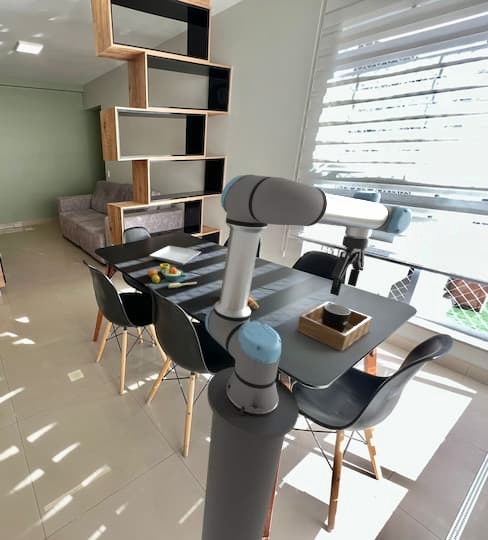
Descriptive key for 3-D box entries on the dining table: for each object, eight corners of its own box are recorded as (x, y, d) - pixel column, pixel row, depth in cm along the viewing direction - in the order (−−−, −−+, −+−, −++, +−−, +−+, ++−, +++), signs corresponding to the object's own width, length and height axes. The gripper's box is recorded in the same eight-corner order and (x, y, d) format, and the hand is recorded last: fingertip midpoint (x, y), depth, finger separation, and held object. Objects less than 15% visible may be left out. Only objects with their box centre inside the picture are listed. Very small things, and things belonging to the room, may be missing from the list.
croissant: (259, 314, 136) (265, 299, 136) (252, 313, 129) (258, 296, 128) (221, 299, 150) (226, 285, 150) (212, 297, 142) (217, 282, 142)
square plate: (148, 260, 200) (148, 254, 198) (169, 249, 221) (169, 245, 219) (182, 267, 185) (183, 262, 184) (201, 256, 206) (201, 250, 205)
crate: (341, 351, 105) (345, 336, 102) (297, 330, 118) (300, 315, 116) (367, 332, 116) (372, 317, 114) (324, 314, 129) (328, 301, 127)
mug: (341, 340, 110) (347, 317, 106) (316, 331, 116) (321, 309, 112) (348, 327, 118) (355, 305, 114) (324, 319, 124) (329, 298, 120)
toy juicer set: (141, 277, 172) (141, 265, 169) (165, 270, 182) (165, 258, 179) (172, 294, 150) (172, 280, 147) (197, 285, 160) (198, 272, 157)
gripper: (360, 228, 112) (348, 278, 120) (327, 239, 99) (316, 294, 107) (383, 232, 106) (368, 284, 114) (351, 244, 93) (337, 302, 101)
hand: (343, 289), depth 110 cm, fingers open, 13 cm apart
